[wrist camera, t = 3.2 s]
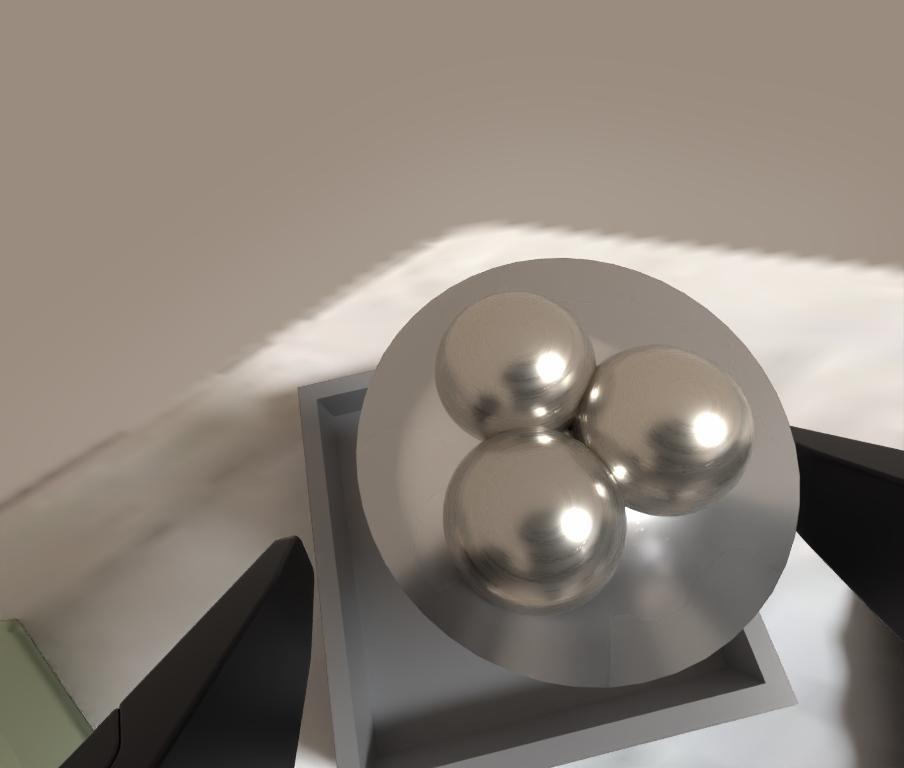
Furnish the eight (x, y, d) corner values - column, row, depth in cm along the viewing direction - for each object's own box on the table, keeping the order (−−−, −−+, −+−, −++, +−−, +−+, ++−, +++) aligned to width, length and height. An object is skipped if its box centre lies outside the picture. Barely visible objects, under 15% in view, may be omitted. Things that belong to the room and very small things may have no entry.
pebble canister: (585, 595, 15) (981, 698, 3) (445, 604, 15) (319, 738, 3) (563, 457, 17) (767, 187, 5) (438, 467, 17) (339, 226, 5)
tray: (746, 681, 15) (798, 704, 12) (365, 777, 14) (342, 821, 12) (611, 344, 19) (629, 312, 17) (321, 410, 19) (297, 387, 16)
